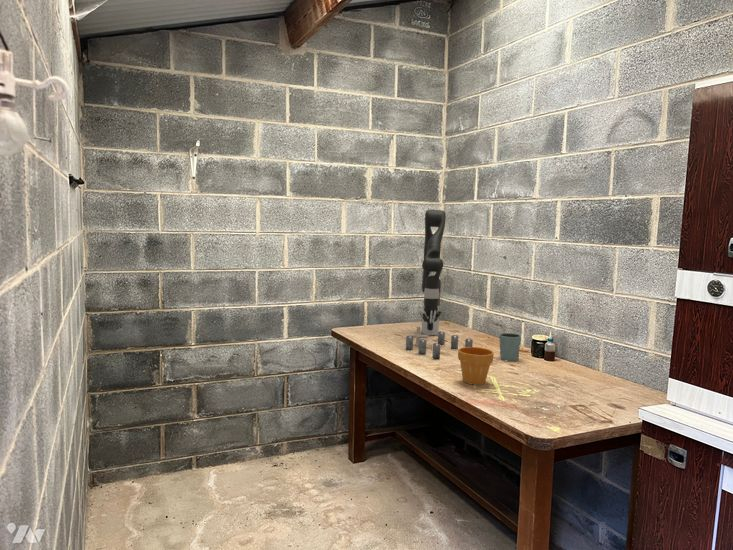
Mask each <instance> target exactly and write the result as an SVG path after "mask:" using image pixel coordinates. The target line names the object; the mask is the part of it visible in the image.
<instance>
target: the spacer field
mask: <svg viewBox="0 0 733 550" xmlns="http://www.w3.org/2000/svg"><path fill="white" fill-rule="evenodd" d="M450 337H451V338H450V349H451V350H452V349H459V335H456V334H452V335H451V336H450ZM445 341H446V331H438V335H437V342H436V343H432V353H431V355H432V356H431V359H432V358H433V359H432V360H436V359H438V360H441V346H440V345H444V346H445ZM464 343H465V344H464V347H474V346H473V344H474V340H473V339H472V338H465V341H464ZM413 349H414V338H413V336H409V335H406V336H405V351H408V350H409V351H410V352H412V351H413ZM411 350H412V351H411ZM420 354H421V355H420ZM425 354H426V355H427V339H425V338H420V340H419V346H418V355H420V356H424V355H425Z"/></svg>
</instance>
